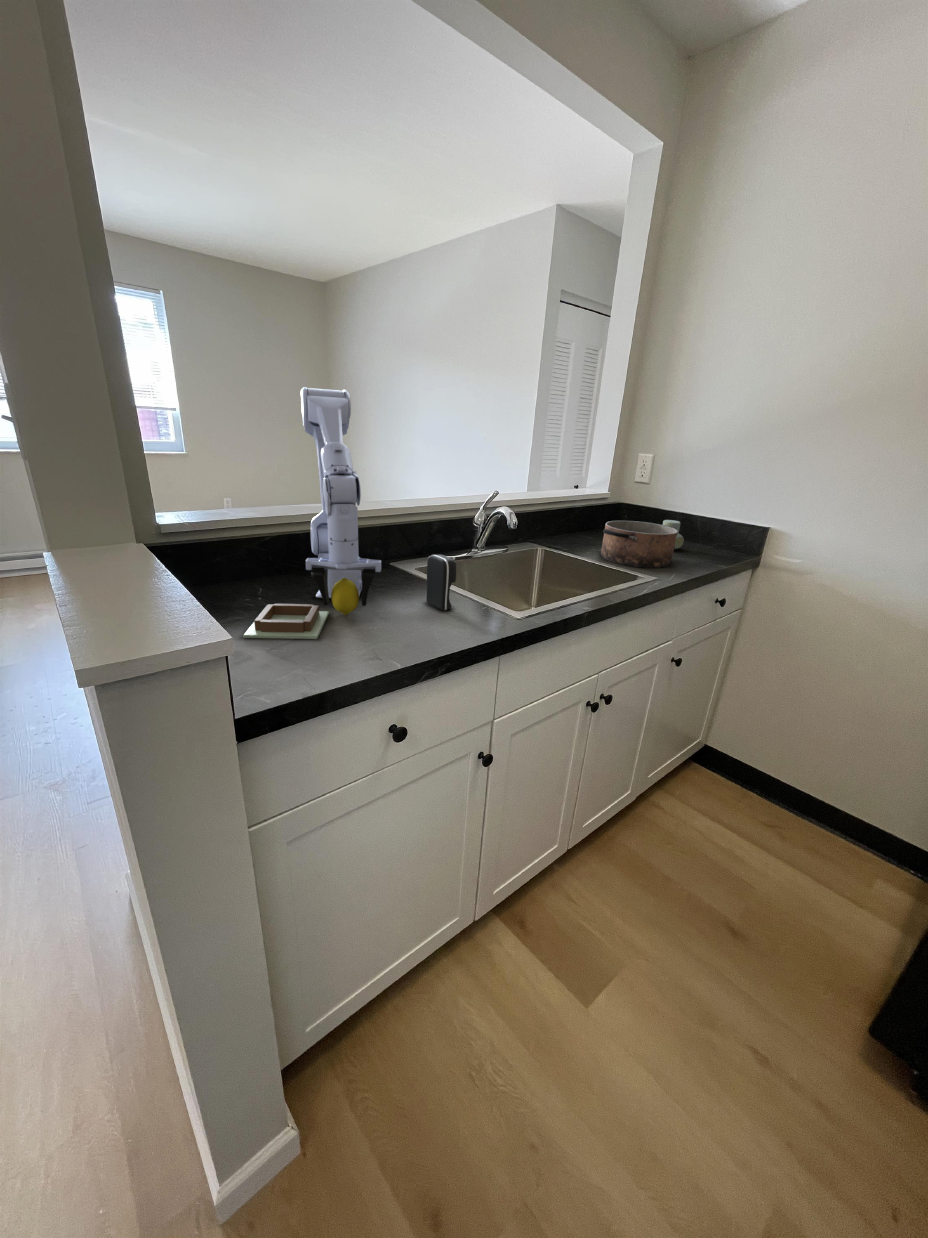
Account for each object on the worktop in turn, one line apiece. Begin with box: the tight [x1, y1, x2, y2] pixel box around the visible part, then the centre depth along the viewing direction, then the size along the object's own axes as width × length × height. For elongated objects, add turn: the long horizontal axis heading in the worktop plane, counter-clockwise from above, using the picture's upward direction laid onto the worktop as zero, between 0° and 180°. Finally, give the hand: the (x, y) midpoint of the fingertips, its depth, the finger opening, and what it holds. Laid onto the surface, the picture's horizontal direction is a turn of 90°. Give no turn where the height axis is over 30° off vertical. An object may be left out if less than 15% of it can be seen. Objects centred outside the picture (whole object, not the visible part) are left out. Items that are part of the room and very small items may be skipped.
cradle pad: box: [242, 603, 330, 640], centre depth 95 cm, size 13×13×3 cm
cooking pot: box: [600, 520, 678, 569], centre depth 162 cm, size 30×22×11 cm
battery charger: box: [425, 554, 457, 611], centre depth 109 cm, size 7×4×11 cm, turn 37°
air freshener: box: [662, 519, 685, 551], centre depth 182 cm, size 11×8×10 cm
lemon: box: [330, 578, 360, 616], centre depth 101 cm, size 6×6×8 cm
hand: (345, 603), depth 102 cm, fingers open, 7 cm apart
